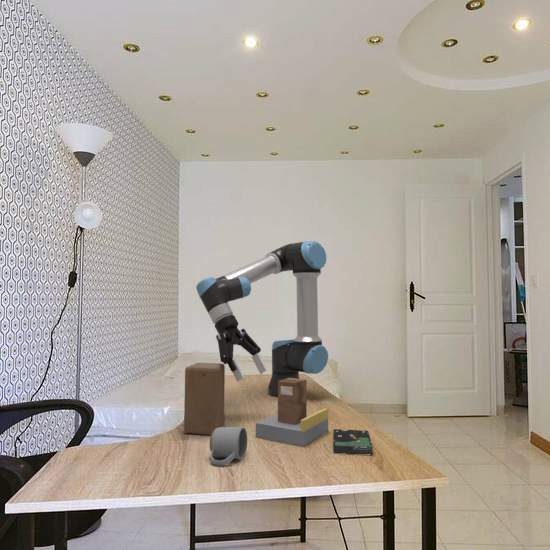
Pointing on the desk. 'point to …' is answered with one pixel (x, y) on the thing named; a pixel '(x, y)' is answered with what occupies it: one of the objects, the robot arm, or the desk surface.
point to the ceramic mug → (228, 444)
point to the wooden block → (204, 398)
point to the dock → (294, 429)
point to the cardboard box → (292, 400)
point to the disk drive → (351, 442)
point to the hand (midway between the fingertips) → (252, 375)
